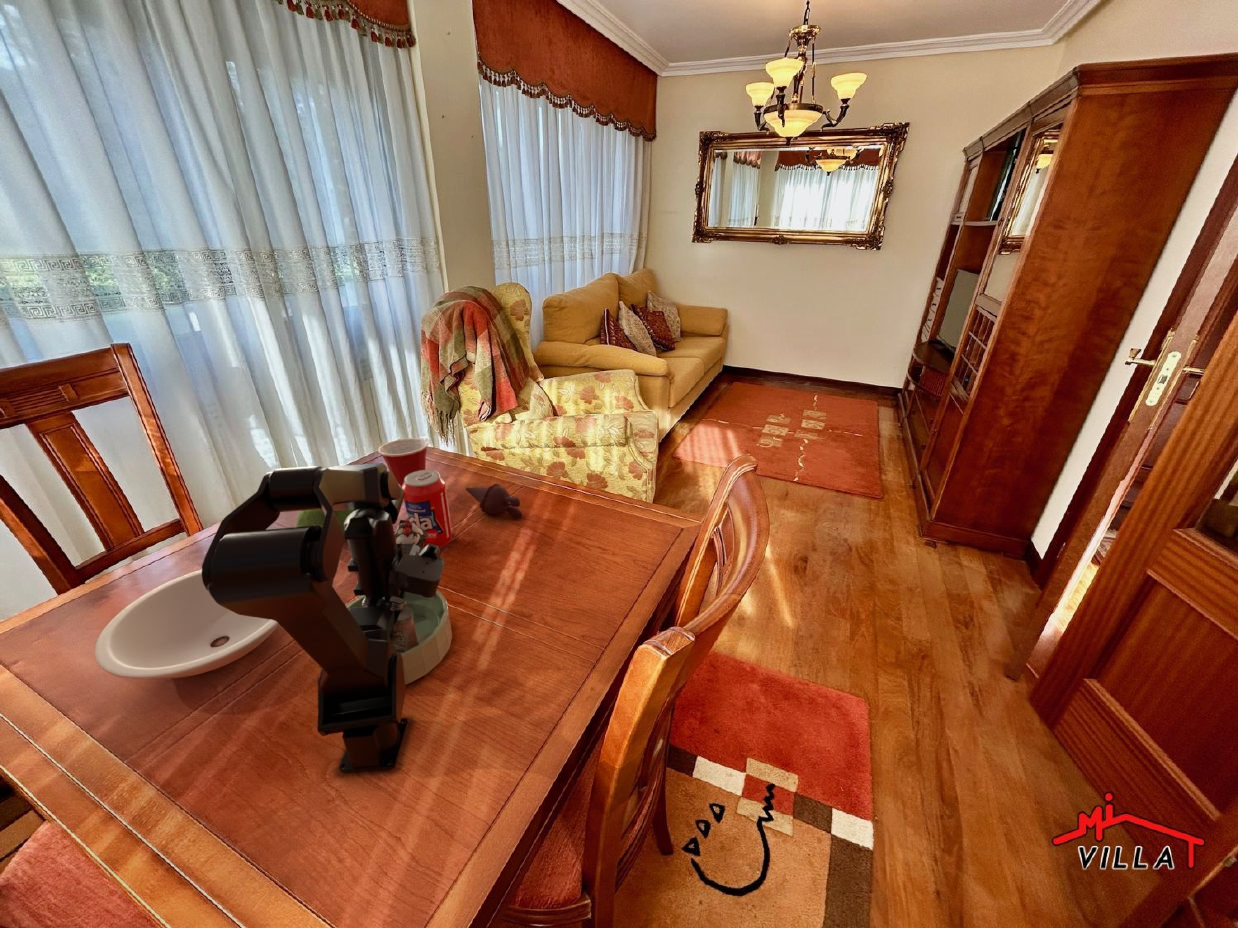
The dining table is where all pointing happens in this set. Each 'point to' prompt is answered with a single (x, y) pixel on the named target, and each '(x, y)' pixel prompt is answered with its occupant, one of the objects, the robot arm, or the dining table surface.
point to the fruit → (320, 517)
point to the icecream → (496, 500)
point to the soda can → (428, 505)
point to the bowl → (424, 633)
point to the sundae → (410, 534)
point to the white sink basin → (176, 633)
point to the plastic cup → (404, 456)
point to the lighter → (403, 627)
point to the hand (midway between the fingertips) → (393, 632)
